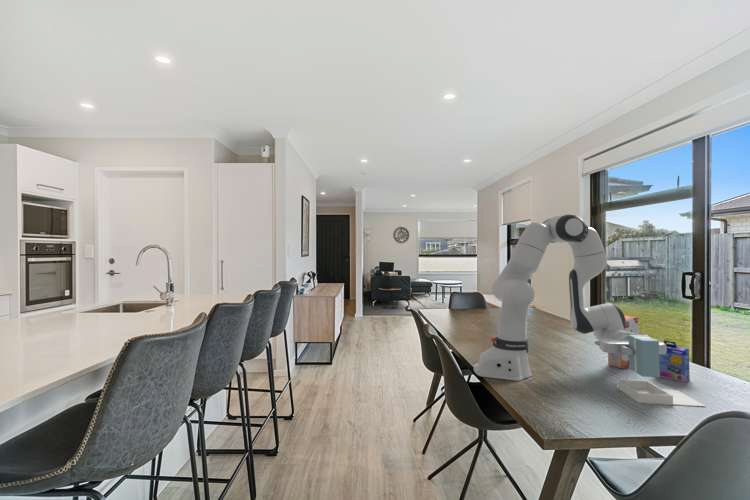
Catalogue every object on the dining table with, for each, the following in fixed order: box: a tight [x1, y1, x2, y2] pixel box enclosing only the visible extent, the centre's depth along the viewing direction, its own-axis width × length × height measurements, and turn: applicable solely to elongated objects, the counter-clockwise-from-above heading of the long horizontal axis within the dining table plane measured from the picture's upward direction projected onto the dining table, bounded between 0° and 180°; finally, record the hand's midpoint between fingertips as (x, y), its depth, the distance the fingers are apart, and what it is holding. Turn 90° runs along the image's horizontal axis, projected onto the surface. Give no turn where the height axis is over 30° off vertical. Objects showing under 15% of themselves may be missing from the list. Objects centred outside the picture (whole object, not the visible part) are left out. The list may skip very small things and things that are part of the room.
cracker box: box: [607, 314, 639, 369], centre depth 150 cm, size 14×6×21 cm, turn 119°
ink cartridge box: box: [659, 339, 691, 383], centre depth 134 cm, size 10×6×14 cm, turn 34°
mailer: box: [616, 378, 706, 408], centre depth 116 cm, size 19×13×3 cm
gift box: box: [628, 334, 660, 378], centre depth 117 cm, size 5×8×12 cm, turn 170°
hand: (644, 352), depth 117 cm, fingers closed on gift box, 5 cm apart
